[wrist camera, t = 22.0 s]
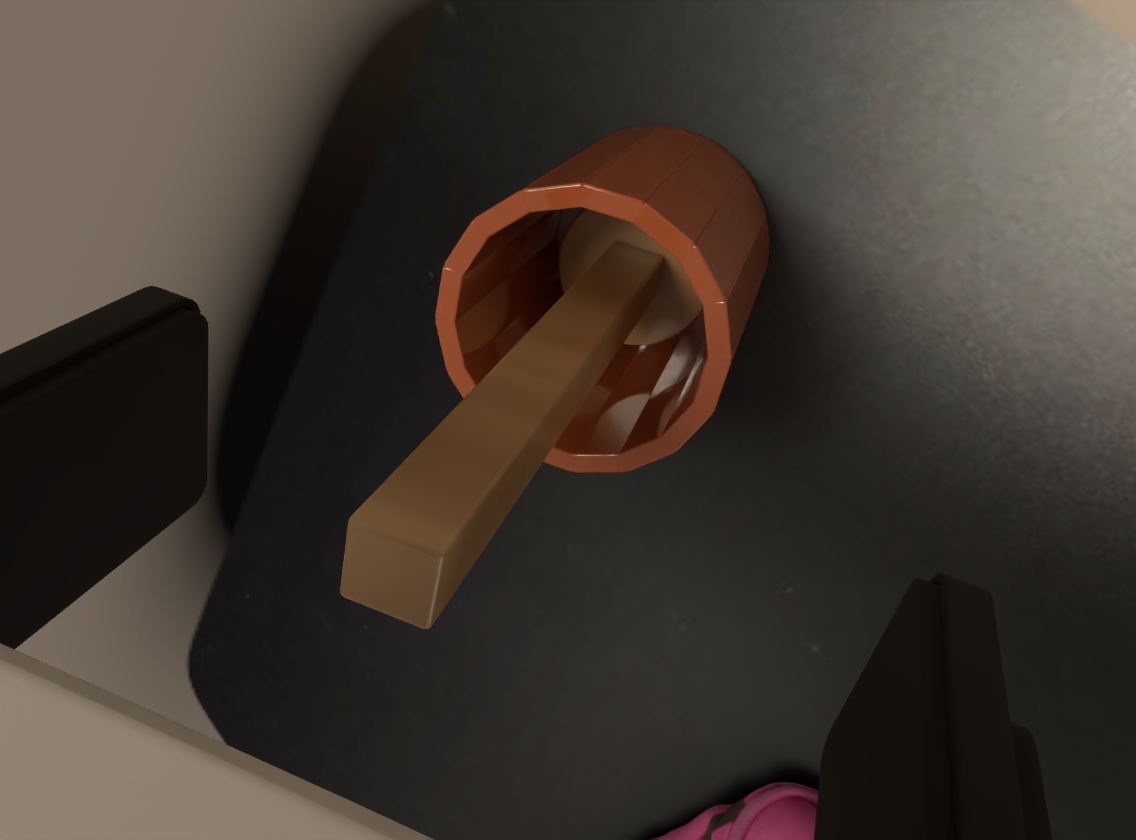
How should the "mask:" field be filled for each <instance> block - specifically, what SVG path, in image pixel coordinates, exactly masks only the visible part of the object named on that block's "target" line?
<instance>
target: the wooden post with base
mask: <svg viewBox="0 0 1136 840" xmlns="http://www.w3.org/2000/svg"><path fill="white" fill-rule="evenodd" d="M558 269H559V278H560V282H561V286H562V289H563V292H564V295H563V296H562V297H561V298H560V299H559V300H558V301H557V302H556V303H555V304H554V305H553V306H552V307H551V308H550V309H549V310H548V311H547V312H546V314H545V315H544V316H543V317H542V318H541V319H540V320H539V321H538V322H537V323H536V324H535V325H534V326H533V327H532V328H531V329H530V330H529V331H528V332H527V333H526V334H525V335H524V336H523V338H522V339H521V340H520V341H519V342H518V343H517V344H516V345H515V346H514V347H513V348H512V349H511V350H510V351H509V352H508V353H507V354H506V355H505V356H504V357H503V358H502V359H501V360H500V361H499V363H498V364H497V365H496V366H495V367H494V368H493V369H492V370H491V371H490V372H489V373H488V374H487V375H486V376H485V377H484V378H483V379H482V380H481V381H480V382H479V383H478V384H477V385H476V386H475V388H474V389H473V390H472V391H471V392H470V393H469V394H468V395H467V396H466V397H465V398H464V399H463V400H462V401H461V402H460V403H459V404H458V405H457V406H456V407H455V408H454V409H453V410H452V412H451V413H450V414H449V415H448V416H447V417H446V418H445V419H444V420H443V421H442V422H441V423H440V424H439V425H438V426H437V427H436V428H435V429H434V430H433V431H432V432H431V433H430V434H429V435H428V437H427V438H426V439H425V440H424V441H423V442H422V443H421V444H420V445H419V446H418V447H417V448H416V449H415V450H414V451H413V452H412V453H411V454H410V455H409V456H408V457H407V458H406V459H405V460H404V462H403V463H402V464H401V465H400V466H399V467H398V468H397V469H396V470H395V471H394V472H393V473H392V474H391V475H390V476H389V477H388V478H387V479H386V480H385V481H384V482H383V483H382V484H381V485H380V487H379V488H378V489H377V490H376V491H375V492H374V493H373V494H372V495H371V496H370V497H369V498H368V499H367V500H366V501H365V502H364V503H363V504H362V505H361V506H360V507H359V508H358V509H357V511H356V512H355V513H354V514H353V515H352V516H351V517H350V518H349V522H348V529H347V538H346V546H345V554H344V563H343V571H342V580H341V588H340V593H341V595H342V596H343V597H345V598H348V599H350V600H353V601H355V602H358V603H360V604H363V605H365V606H368V607H370V608H373V609H375V610H378V611H380V612H383V613H385V614H388V615H390V616H393V617H395V618H398V619H400V620H403V621H405V622H407V623H410V624H412V625H415V626H417V627H420V628H422V629H429V628H430V627H431V626H432V625H433V623H434V622H435V621H436V619H437V618H438V616H439V615H440V613H441V612H442V610H443V609H444V607H445V606H446V604H447V603H448V601H449V600H450V598H451V597H452V595H453V594H454V592H455V591H456V590H457V588H458V587H459V585H460V584H461V582H462V581H463V579H464V578H465V576H466V575H467V573H468V572H469V570H470V569H471V567H472V566H473V564H474V563H475V562H476V560H477V559H478V557H479V556H480V554H481V553H482V551H483V550H484V548H485V547H486V545H487V544H488V542H489V541H490V539H491V538H492V536H493V535H494V534H495V532H496V531H497V529H498V528H499V526H500V525H501V523H502V522H503V520H504V519H505V517H506V516H507V514H508V513H509V511H510V510H511V508H512V507H513V505H514V504H515V503H516V501H517V500H518V498H519V497H520V495H521V494H522V492H523V491H524V489H525V488H526V486H527V485H528V483H529V482H530V480H531V479H532V477H533V476H534V475H535V473H536V472H537V470H538V469H539V467H540V466H541V464H542V463H543V461H544V460H545V458H546V457H547V455H548V454H549V452H550V451H551V449H552V448H553V446H554V445H555V444H556V442H557V441H558V439H559V438H560V436H561V435H562V433H563V432H564V430H565V429H566V427H567V426H568V424H569V423H570V421H571V420H572V418H573V417H574V416H575V414H576V413H577V411H578V410H579V408H580V407H581V405H582V404H583V402H584V401H585V399H586V398H587V396H588V395H589V393H590V392H591V390H592V389H593V387H594V386H595V385H596V383H597V382H598V380H599V379H600V377H601V376H602V374H603V373H604V371H605V370H606V368H607V367H608V365H609V364H610V362H611V361H612V359H613V358H614V357H615V355H616V354H617V352H618V351H619V349H620V348H621V346H622V345H623V344H628V345H652V344H657V343H661V342H664V341H667V340H669V339H672V338H674V337H675V336H677V335H679V334H681V333H682V332H683V331H685V330H686V329H687V328H688V327H690V326H691V325H692V324H693V323H694V322H695V320H696V319H697V318H698V316H699V315H700V314H701V312H702V310H703V305H702V304H701V302H700V300H699V298H698V296H697V295H696V293H695V291H694V289H693V287H692V286H691V284H690V282H689V280H688V278H687V276H686V275H685V273H684V271H683V269H682V267H681V266H680V264H679V262H678V260H677V258H675V257H674V256H673V255H672V254H670V253H669V252H668V251H667V250H666V249H664V248H663V247H662V246H661V245H659V244H658V243H657V242H656V241H655V240H653V239H652V238H651V237H650V236H648V235H647V234H646V233H645V232H644V231H642V230H641V229H640V228H639V227H637V226H636V225H635V224H634V223H631V222H627V221H624V220H621V219H618V218H615V217H611V216H608V215H605V214H602V213H599V212H595V211H592V210H589V209H586V208H584V209H583V210H582V211H581V212H580V213H578V215H577V216H576V217H575V218H574V219H573V221H572V222H571V224H570V225H569V227H568V228H567V230H566V232H565V235H564V237H563V240H562V243H561V246H560V252H559V261H558Z"/></svg>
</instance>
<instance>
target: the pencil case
mask: <svg viewBox="0 0 1136 840" xmlns="http://www.w3.org/2000/svg"><path fill="white" fill-rule="evenodd" d="M817 800H818V790H816V789H813V788H810V787H807V786H803V785H800V784H796V783H788V782H779V783H771V784H768V785H766V786H764V787H761V788H759V789H757V790H755V791H754V792H752V793H750V794H749V795H748V796H746V797H745V798H743V799H741V800H739V801H737V802H736V803H734V804H733V805H715V806H713V807H711V808H709V809H707V810H706V811H704V812H703V813H701V814H700V815H698V816H697V817H695V818H694V819H693V820H692V821H690V822H689V823H688V824H686V825H683V826H681V827H679V828H677V829H675V830H672V831H670V832H669V833H667V834H665V835H663V836H661V837H656V838H653V839H650V840H814V832H815V821H816V810H817Z"/></svg>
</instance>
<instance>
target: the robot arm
mask: <svg viewBox="0 0 1136 840" xmlns="http://www.w3.org/2000/svg"><path fill="white" fill-rule="evenodd" d="M207 417H208V322H207V320H206V318H205V317H204V316H203V315H201V314H200V309H199V307H198V305H197V303H196V302H194V301H193V300H192V299H189V298H186V297H183V296H181V295H178V294H175V293H172V292H170V291H167V290H164V289H162V288H159V287H154V286H149V287H145V288H143V289H140V290H138V291H136V292H134V293H132V294H130V295H128V296H125V297H123V298H121V299H119V300H117V301H115V302H112V303H110V304H108V305H106V306H104V307H101V308H99V309H97V310H95V311H93V312H90V313H88V314H86V315H84V316H82V317H80V318H78V319H75V320H73V321H71V322H69V323H67V324H64V325H62V326H60V327H58V328H56V329H53V330H51V331H49V332H47V333H45V334H43V335H40V336H38V337H36V338H34V339H32V340H30V341H27V342H26V343H23V344H21V345H19V346H17V347H14V348H12V349H10V350H8V351H6V352H3V353H1V354H0V840H434V839H432V838H430V837H428V836H425V835H423V834H421V833H419V832H417V831H414V830H412V829H410V828H408V827H406V826H404V825H401V824H399V823H397V822H395V821H393V820H391V819H388V818H386V817H384V816H382V815H380V814H378V813H375V812H373V811H371V810H369V809H367V808H364V807H362V806H360V805H358V804H356V803H354V802H351V801H349V800H347V799H345V798H343V797H340V796H338V795H336V794H334V793H331V792H329V791H327V790H325V789H323V788H320V787H318V786H316V785H314V784H312V783H309V782H307V781H305V780H303V779H301V778H298V777H296V776H294V775H292V774H290V773H287V772H285V771H283V770H281V769H279V768H276V767H274V766H272V765H270V764H268V763H265V762H263V761H261V760H259V759H257V758H254V757H252V756H250V755H248V754H246V753H243V752H241V751H239V750H237V749H235V748H232V747H230V746H228V745H226V744H224V743H221V742H219V741H217V740H215V739H213V738H210V737H208V736H206V735H204V734H201V733H199V732H197V731H195V730H193V729H190V728H188V727H186V726H184V725H181V724H179V723H177V722H175V721H173V720H170V719H168V718H166V717H164V716H162V715H159V714H157V713H155V712H153V711H150V710H148V709H146V708H144V707H142V706H140V705H137V704H135V703H133V702H130V701H128V700H126V699H124V698H122V697H120V696H117V695H115V694H113V693H111V692H108V691H106V690H104V689H102V688H99V687H97V686H95V685H93V684H90V683H88V682H86V681H84V680H82V679H79V678H77V677H75V676H72V675H70V674H68V673H66V672H64V671H61V670H59V669H57V668H55V667H52V666H50V665H48V664H46V663H43V662H41V661H39V660H37V659H34V658H32V657H30V656H27V655H25V654H23V653H21V652H19V651H16V650H14V649H15V648H17V647H18V646H19V645H21V644H22V643H23V642H24V641H25V640H27V639H28V638H29V637H30V636H32V635H33V634H34V633H35V632H37V631H38V630H39V629H40V628H42V627H43V626H44V625H45V624H47V623H48V622H49V621H50V620H51V619H53V618H54V617H55V616H57V615H58V614H59V613H60V612H62V611H63V610H64V609H65V608H67V607H68V606H69V605H70V604H72V603H73V602H74V601H75V600H77V599H78V598H79V597H80V596H82V595H83V594H84V593H85V592H87V591H88V590H89V589H90V588H92V587H93V586H94V585H95V584H96V583H98V582H99V581H100V580H102V579H103V578H104V577H105V576H107V575H108V574H109V573H110V572H112V571H113V570H114V569H115V568H117V567H118V566H119V565H120V564H122V563H123V562H124V561H125V560H127V559H128V558H129V557H130V556H132V555H133V554H134V553H135V552H137V551H138V550H139V549H140V548H142V547H143V546H144V545H145V544H147V543H148V542H149V541H150V540H152V539H153V538H154V537H155V536H157V535H158V534H159V533H160V532H161V531H163V530H164V529H165V528H167V527H168V526H169V525H170V524H172V523H173V522H174V521H175V520H176V519H178V518H179V517H180V516H181V515H183V514H184V513H185V512H186V511H188V510H189V509H190V508H192V507H193V506H194V505H195V504H196V503H197V502H198V500H199V499H200V497H201V496H202V494H203V492H204V490H205V486H206V482H207V422H208V421H207V419H208V418H207ZM814 840H1052V837H1051V831H1050V825H1049V819H1048V813H1047V808H1046V802H1045V796H1044V790H1043V784H1042V778H1041V772H1040V767H1039V761H1038V755H1037V749H1036V745H1035V742H1034V738H1033V735H1032V734H1031V733H1030V732H1029V730H1028V729H1027V728H1025V727H1022V726H1020V725H1017V724H1015V723H1012V722H1010V719H1009V712H1008V705H1007V698H1006V691H1005V684H1004V677H1003V670H1002V663H1001V656H1000V649H999V642H998V635H997V627H996V620H995V613H994V606H993V599H992V596H991V592H989V591H988V590H986V589H983V588H981V587H978V586H975V585H972V584H970V583H967V582H964V581H961V580H959V579H956V578H953V577H950V576H948V575H945V574H942V573H938V574H936V575H935V576H934V577H933V578H932V580H931V581H930V582H928V581H925V580H922V579H919V578H916V579H915V580H914V581H913V582H912V583H911V585H910V586H909V588H908V590H907V592H906V593H905V595H904V597H903V599H902V601H901V603H900V604H899V606H898V608H897V610H896V612H895V613H894V615H893V617H892V619H891V621H890V623H889V624H888V626H887V628H886V630H885V632H884V633H883V635H882V637H881V639H880V641H879V643H878V644H877V646H876V648H875V650H874V652H873V654H872V655H871V657H870V659H869V661H868V663H867V664H866V666H865V668H864V670H863V672H862V674H861V675H860V677H859V679H858V681H857V683H856V684H855V686H854V688H853V690H852V692H851V694H850V695H849V697H848V699H847V701H846V703H845V704H844V706H843V708H842V710H841V712H840V714H839V715H838V717H837V719H836V721H835V723H834V724H833V726H832V728H831V730H830V732H829V734H828V737H827V740H826V743H825V746H824V749H823V754H822V759H821V768H820V779H819V789H818V800H817V810H816V821H815V832H814Z"/></svg>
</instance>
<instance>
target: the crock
mask: <svg viewBox="0 0 1136 840" xmlns="http://www.w3.org/2000/svg"><path fill="white" fill-rule="evenodd" d="M584 208H586V209H589V210H592V211H595V212H599V213H602V214H605V215H608V216H611V217H615V218H618V219H621V220H624V221H627V222H631V223H634V224H635V225H636V226H637V227H639V228H640V229H641V230H642V231H644V232H645V233H646V234H647V235H648V236H650V237H651V238H652V239H653V240H655V241H656V242H657V243H658V244H659V245H661V246H662V247H663V248H664V249H666V250H667V251H668V252H669V253H670V254H672V255H673V256H674V257H675V258H677V260H678V262H679V264H680V266H681V267H682V269H683V271H684V273H685V275H686V276H687V278H688V280H689V282H690V284H691V286H692V287H693V289H694V291H695V293H696V295H697V296H698V298H699V300H700V302H701V304H702V305H703V310H702V312H701V314H700V315H699V316H698V318H697V319H696V320H695V322H694V323H693V324H692V325H691V326H690V327H688V328H687V329H686V330H685V331H683V332H682V333H681V334H679V335H677V336H675V337H674V338H672V339H669V340H667V341H664V342H661V343H657V344H652V345H628V344H623V345H622V346H621V348H620V349H619V351H618V352H617V354H616V355H615V357H614V358H613V359H612V361H611V362H610V364H609V365H608V367H607V368H606V370H605V371H604V373H603V374H602V376H601V377H600V379H599V380H598V382H597V383H596V385H595V386H594V387H593V389H592V390H591V392H590V393H589V395H588V396H587V398H586V399H585V401H584V402H583V404H582V405H581V407H580V408H579V410H578V411H577V413H576V414H575V416H574V417H573V418H572V420H571V421H570V423H569V424H568V426H567V427H566V429H565V430H564V432H563V433H562V435H561V436H560V438H559V439H558V441H557V442H556V444H555V445H554V446H553V448H552V449H551V451H550V452H549V454H548V455H547V457H546V458H545V460H544V461H543V462H545V463H548V464H551V465H553V466H556V467H559V468H562V469H564V470H567V471H571V472H572V471H573V472H626V471H631V470H633V469H636V468H638V467H641V466H643V465H646V464H648V463H651V462H653V461H656V460H658V459H661V458H663V457H666V456H668V455H671V454H673V453H675V451H678V450H679V449H680V448H681V447H682V446H683V445H684V444H685V443H686V442H687V441H688V440H689V439H690V438H691V437H692V436H693V435H694V433H695V432H696V431H697V430H698V429H699V428H700V427H701V426H702V425H703V424H704V423H705V422H706V421H707V420H708V419H709V418H710V417H711V416H712V414H713V412H714V411H715V409H716V406H717V404H718V401H719V398H720V396H721V393H722V390H723V387H724V385H725V382H726V379H727V377H728V374H729V371H730V369H731V366H732V363H733V360H734V358H735V355H736V352H737V350H738V347H739V344H740V342H741V339H742V336H743V333H744V331H745V328H746V325H747V323H748V320H749V317H750V315H751V312H752V309H753V306H754V304H755V301H756V298H757V295H758V292H759V289H760V287H761V284H762V281H763V278H764V275H765V272H766V269H767V266H768V264H769V262H768V261H769V249H770V233H769V226H768V219H767V215H766V211H765V208H764V204H763V202H762V199H761V197H760V195H759V192H758V190H757V188H756V186H755V185H754V183H753V181H752V180H751V178H750V176H749V175H748V174H747V172H746V171H745V170H744V169H743V167H742V166H741V165H740V164H739V163H738V162H737V161H736V160H735V159H734V158H733V157H732V156H731V155H730V154H729V153H728V152H727V151H725V150H724V149H722V148H721V147H720V146H718V145H717V144H716V143H714V142H712V141H710V140H708V139H706V138H705V137H703V136H701V135H698V134H695V133H693V132H690V131H687V130H684V129H679V128H675V127H669V126H656V125H654V126H639V127H634V128H629V129H625V130H622V131H618V132H614V133H610V134H609V135H607V136H606V137H604V138H602V139H601V140H599V141H597V142H596V143H594V144H592V145H591V146H589V147H588V148H586V149H584V150H583V151H581V152H579V153H578V154H576V155H575V156H573V157H571V158H570V159H568V160H566V161H565V162H563V163H562V164H560V165H558V166H557V167H555V168H554V169H552V170H550V171H549V172H547V173H546V174H544V175H542V176H541V177H539V178H538V179H536V180H534V181H533V182H531V183H530V184H528V185H526V186H525V187H523V188H522V189H520V190H518V191H517V192H515V193H514V194H512V195H510V196H509V197H507V198H506V199H504V200H502V201H501V202H499V203H498V204H496V205H494V206H493V207H491V208H490V209H488V210H486V211H485V212H483V213H482V214H480V215H478V216H477V217H475V219H474V220H472V221H471V223H470V225H469V226H468V228H467V229H466V231H465V232H464V234H463V235H462V237H461V238H460V240H459V241H458V243H457V245H456V246H455V248H454V249H453V251H452V252H451V254H450V255H449V257H448V258H447V260H446V261H445V264H444V266H443V271H442V277H441V283H440V290H439V296H438V303H437V309H436V315H435V318H436V326H437V330H438V334H439V339H440V343H441V347H442V352H443V356H444V361H445V365H446V369H447V371H448V375H449V376H450V378H451V379H452V381H453V382H454V384H455V386H456V387H457V389H458V390H459V392H460V393H461V395H462V396H463V398H465V397H466V396H467V395H468V394H469V393H470V392H471V391H472V390H473V389H474V388H475V386H476V385H477V384H478V383H479V382H480V381H481V380H482V379H483V378H484V377H485V376H486V375H487V374H488V373H489V372H490V371H491V370H492V369H493V368H494V367H495V366H496V365H497V364H498V363H499V361H500V360H501V359H502V358H503V357H504V356H505V355H506V354H507V353H508V352H509V351H510V350H511V349H512V348H513V347H514V346H515V345H516V344H517V343H518V342H519V341H520V340H521V339H522V338H523V336H524V335H525V334H526V333H527V332H528V331H529V330H530V329H531V328H532V327H533V326H534V325H535V324H536V323H537V322H538V321H539V320H540V319H541V318H542V317H543V316H544V315H545V314H546V312H547V311H548V310H549V309H550V308H551V307H552V306H553V305H554V304H555V303H556V302H557V301H558V300H559V299H560V298H561V297H562V296H563V295H564V292H563V289H562V286H561V282H560V278H559V269H558V261H559V252H560V246H561V243H562V240H563V237H564V235H565V232H566V230H567V228H568V227H569V225H570V224H571V222H572V221H573V219H574V218H575V217H576V216H577V215H578V213H580V212H581V211H582V210H583V209H584Z"/></svg>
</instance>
